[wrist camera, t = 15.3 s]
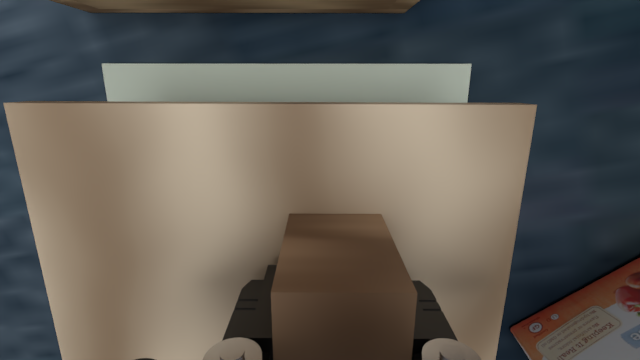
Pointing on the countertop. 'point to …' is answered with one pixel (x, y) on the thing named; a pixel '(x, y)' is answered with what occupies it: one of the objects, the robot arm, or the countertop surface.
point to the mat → (287, 82)
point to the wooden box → (241, 6)
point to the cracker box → (588, 322)
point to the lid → (271, 221)
